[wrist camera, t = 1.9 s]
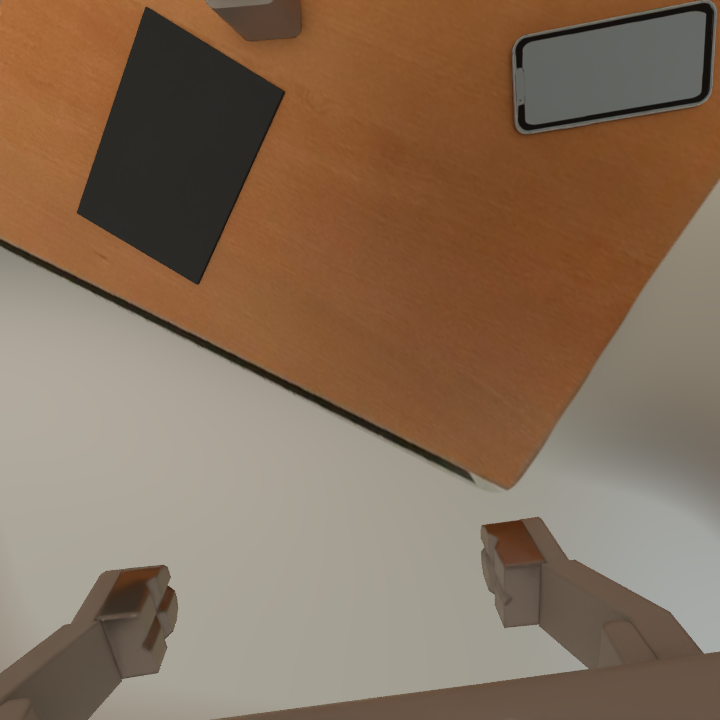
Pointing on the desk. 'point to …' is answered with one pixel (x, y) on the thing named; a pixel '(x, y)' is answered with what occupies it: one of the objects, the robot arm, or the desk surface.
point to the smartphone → (614, 68)
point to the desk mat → (177, 146)
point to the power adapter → (260, 17)
